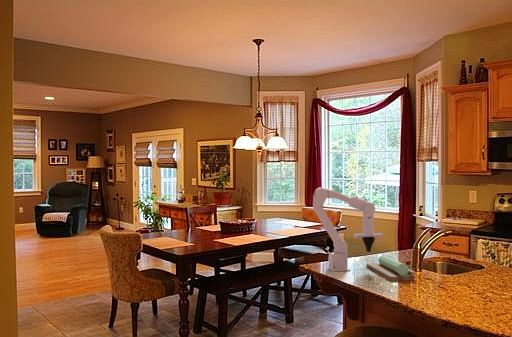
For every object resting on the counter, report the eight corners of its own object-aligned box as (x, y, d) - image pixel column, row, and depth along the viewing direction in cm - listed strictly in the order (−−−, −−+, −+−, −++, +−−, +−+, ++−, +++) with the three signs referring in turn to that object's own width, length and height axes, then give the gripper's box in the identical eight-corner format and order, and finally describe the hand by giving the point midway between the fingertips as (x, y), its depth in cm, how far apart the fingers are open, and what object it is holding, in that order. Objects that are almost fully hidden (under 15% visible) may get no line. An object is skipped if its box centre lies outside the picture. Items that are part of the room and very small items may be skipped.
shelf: (390, 281, 209) (390, 272, 209) (366, 267, 236) (366, 259, 236) (414, 280, 210) (414, 271, 210) (388, 266, 238) (387, 259, 238)
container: (378, 252, 236) (399, 261, 211) (388, 256, 236) (410, 266, 212) (374, 262, 235) (395, 273, 211) (384, 266, 236) (406, 277, 211)
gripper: (357, 226, 226) (357, 253, 226) (385, 226, 228) (385, 252, 228) (352, 224, 233) (352, 250, 233) (379, 224, 235) (379, 249, 235)
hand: (368, 251), depth 231 cm, fingers closed
